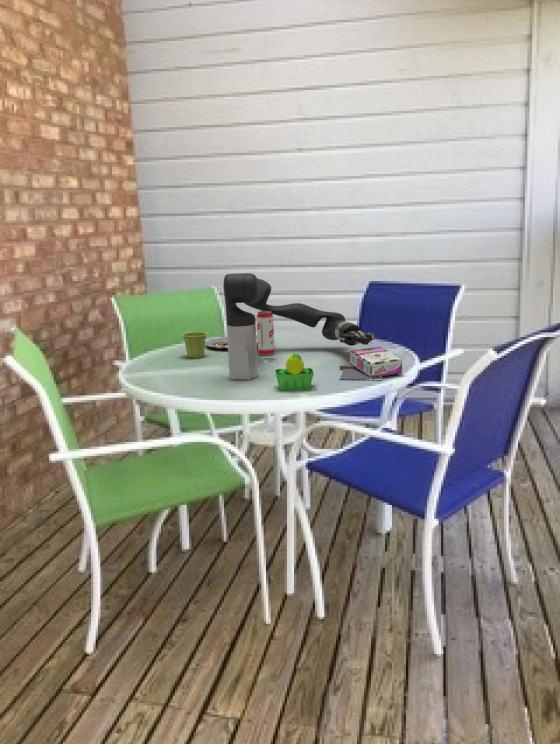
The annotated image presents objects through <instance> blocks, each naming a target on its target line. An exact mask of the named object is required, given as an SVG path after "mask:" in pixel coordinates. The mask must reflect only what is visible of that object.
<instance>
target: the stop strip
mask: <svg viewBox="0 0 560 744" xmlns="http://www.w3.org/2000/svg"><path fill="white" fill-rule="evenodd" d="M344 369H357V368H356V367H354V366H353V365H339V371H341V370H342V371H343V370H344Z"/></svg>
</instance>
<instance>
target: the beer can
mask: <svg viewBox="0 0 560 744" xmlns="http://www.w3.org/2000/svg"><path fill="white" fill-rule="evenodd" d="M256 336H257V339H258V345H257V354H259V355H260V356H263V355H267V356H273V355H274V354H275V327H274V314H272V313H271V311H261V310H259V311H258V312H257V315H256Z"/></svg>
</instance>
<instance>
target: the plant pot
mask: <svg viewBox="0 0 560 744" xmlns="http://www.w3.org/2000/svg"><path fill="white" fill-rule="evenodd" d="M181 336H182V337H183V340H184V345H185V349H186V355H187V358H189V359H190V358H192V359H200V358H202V357H203V356H204V357H205V348H206V347H205V346H206V343H205V342H206V339H207V336H208V333H207V332H205V331H192V332H191V331H190V332H185V333H182V334H181Z"/></svg>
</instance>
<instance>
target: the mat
mask: <svg viewBox="0 0 560 744" xmlns="http://www.w3.org/2000/svg"><path fill="white" fill-rule="evenodd" d="M382 377H383V378H384V376H381V377H380V376H378V377H372V378H370V377H369V376H368V375H366V374H365V373H363V372H362V371H360V370H359V369H344V370H342V373H341V375H340V377H339V380H340V381H370V380H369V379H382V380H383V378H382ZM367 379H368V380H367Z"/></svg>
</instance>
